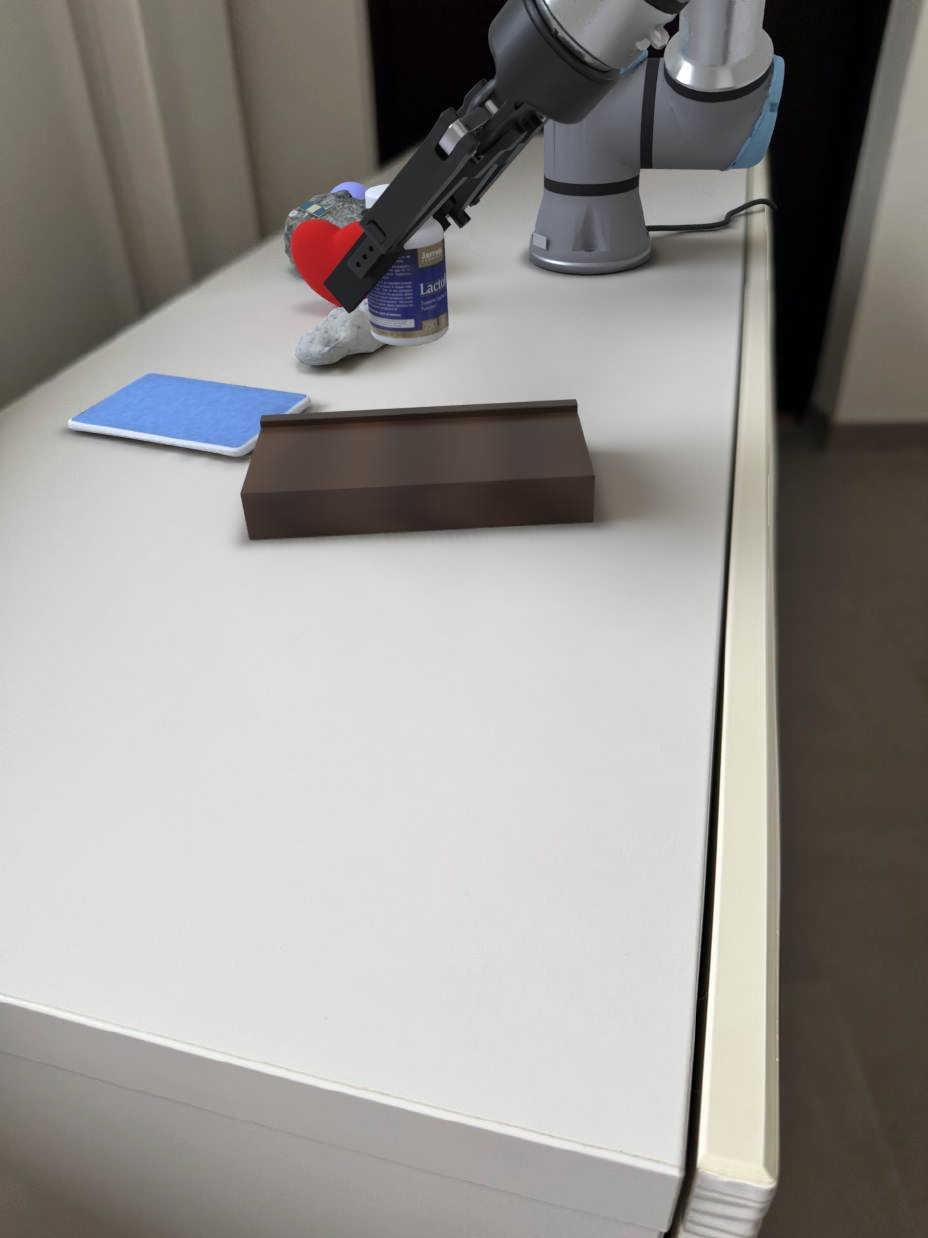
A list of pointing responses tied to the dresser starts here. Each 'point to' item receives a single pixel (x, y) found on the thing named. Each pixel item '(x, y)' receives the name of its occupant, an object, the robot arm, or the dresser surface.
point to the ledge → (418, 470)
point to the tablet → (188, 413)
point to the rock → (324, 214)
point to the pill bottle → (411, 288)
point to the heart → (321, 251)
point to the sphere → (352, 189)
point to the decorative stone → (338, 337)
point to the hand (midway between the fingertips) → (363, 282)
